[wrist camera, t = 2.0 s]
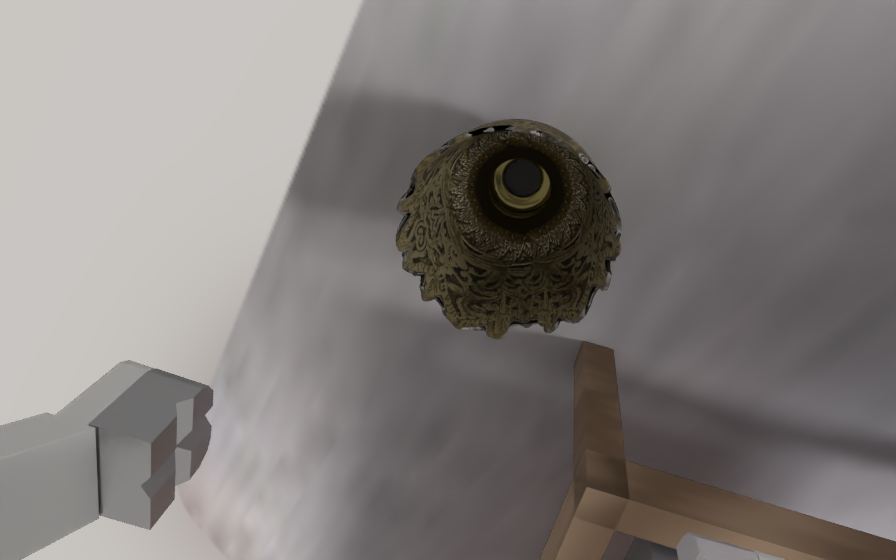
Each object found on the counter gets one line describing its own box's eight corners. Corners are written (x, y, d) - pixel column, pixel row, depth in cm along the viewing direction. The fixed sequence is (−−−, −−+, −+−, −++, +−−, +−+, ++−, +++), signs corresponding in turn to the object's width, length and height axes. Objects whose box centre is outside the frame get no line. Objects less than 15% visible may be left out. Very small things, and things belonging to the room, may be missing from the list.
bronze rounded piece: (451, 260, 30) (413, 345, 23) (427, 103, 27) (374, 143, 20) (613, 249, 28) (626, 337, 21) (605, 80, 25) (617, 115, 18)
